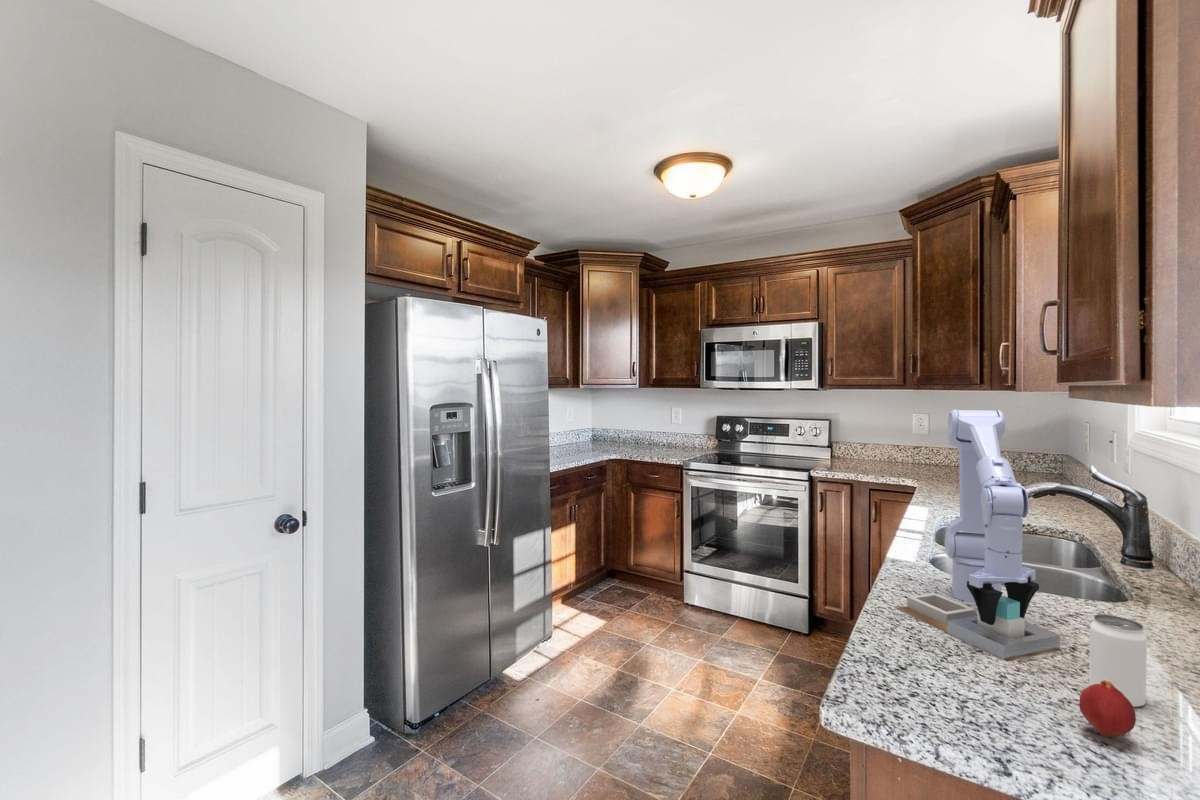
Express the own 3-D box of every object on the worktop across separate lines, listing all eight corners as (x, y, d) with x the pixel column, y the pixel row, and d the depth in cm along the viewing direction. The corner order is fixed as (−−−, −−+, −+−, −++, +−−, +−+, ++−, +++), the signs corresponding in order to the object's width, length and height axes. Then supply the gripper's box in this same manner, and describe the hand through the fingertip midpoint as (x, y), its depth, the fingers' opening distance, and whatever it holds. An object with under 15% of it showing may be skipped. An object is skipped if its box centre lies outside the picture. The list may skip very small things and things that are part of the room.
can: (1157, 711, 81) (1159, 632, 81) (1107, 706, 82) (1109, 628, 82) (1125, 687, 87) (1126, 614, 87) (1079, 683, 89) (1080, 611, 88)
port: (999, 623, 109) (1000, 611, 109) (1059, 648, 99) (1060, 635, 99) (947, 632, 105) (947, 620, 105) (1004, 660, 95) (1004, 645, 95)
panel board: (944, 604, 121) (944, 600, 121) (1062, 654, 98) (1062, 649, 98) (895, 611, 117) (895, 608, 117) (1006, 665, 94) (1007, 661, 94)
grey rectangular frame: (934, 602, 120) (934, 592, 120) (975, 620, 111) (975, 609, 111) (907, 606, 118) (907, 596, 118) (946, 625, 109) (946, 614, 109)
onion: (1080, 717, 79) (1081, 664, 79) (1135, 735, 75) (1136, 679, 75) (1077, 735, 75) (1078, 679, 75) (1135, 755, 71) (1136, 696, 71)
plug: (992, 631, 106) (992, 591, 106) (1024, 645, 100) (1024, 603, 100) (977, 634, 104) (977, 593, 104) (1008, 648, 99) (1009, 605, 99)
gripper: (995, 559, 96) (994, 634, 96) (1053, 551, 100) (1052, 624, 100) (959, 548, 102) (958, 618, 103) (1014, 541, 107) (1013, 609, 107)
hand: (1002, 620), depth 102 cm, fingers open, 7 cm apart
